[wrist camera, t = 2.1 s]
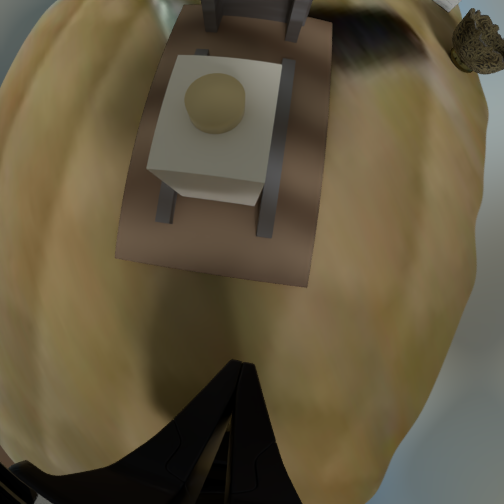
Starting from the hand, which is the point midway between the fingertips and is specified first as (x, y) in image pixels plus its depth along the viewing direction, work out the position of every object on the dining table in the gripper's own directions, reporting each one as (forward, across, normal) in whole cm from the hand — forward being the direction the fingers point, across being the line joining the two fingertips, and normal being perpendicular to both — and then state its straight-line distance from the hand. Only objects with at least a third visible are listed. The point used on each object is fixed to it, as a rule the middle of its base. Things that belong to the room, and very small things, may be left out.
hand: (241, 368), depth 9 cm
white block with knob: (+13, +4, -5) cm, 14 cm away
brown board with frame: (+15, +4, -8) cm, 18 cm away
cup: (+25, -19, -22) cm, 38 cm away
